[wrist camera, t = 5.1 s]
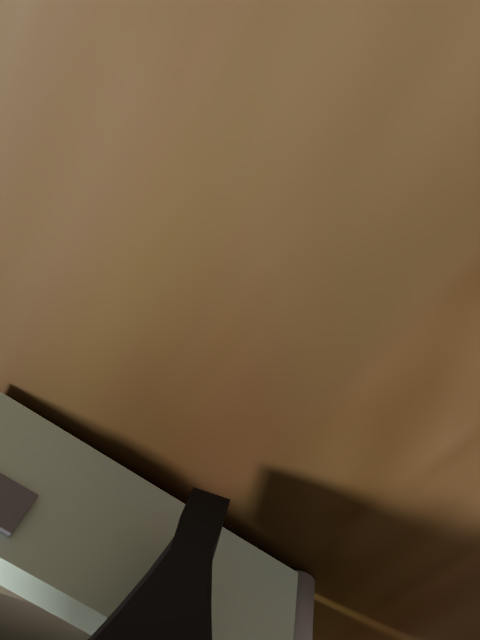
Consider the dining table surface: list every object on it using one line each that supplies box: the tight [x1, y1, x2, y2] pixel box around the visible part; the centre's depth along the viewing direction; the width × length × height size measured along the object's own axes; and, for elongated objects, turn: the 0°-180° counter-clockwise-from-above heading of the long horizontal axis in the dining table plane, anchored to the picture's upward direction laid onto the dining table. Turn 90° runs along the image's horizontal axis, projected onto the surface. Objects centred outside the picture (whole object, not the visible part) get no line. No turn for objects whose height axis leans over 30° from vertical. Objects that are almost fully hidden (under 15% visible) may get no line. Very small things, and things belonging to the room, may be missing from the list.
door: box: [0, 392, 315, 640], centre depth 11 cm, size 1×11×4 cm, turn 57°
